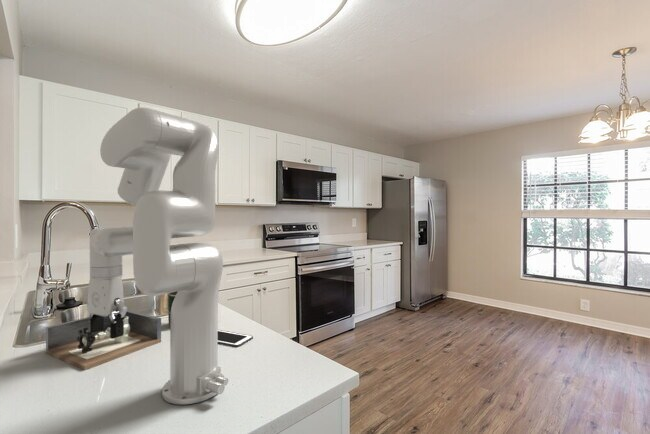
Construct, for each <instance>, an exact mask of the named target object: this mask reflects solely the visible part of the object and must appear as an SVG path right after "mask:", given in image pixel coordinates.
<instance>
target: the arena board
mask: <svg viewBox="0 0 650 434" xmlns="http://www.w3.org/2000/svg"><path fill="white" fill-rule="evenodd" d="M161 342H162V338H161V339H158V340H156V339H153V338H150V337H146V336H143V335H139V334H136V333H133V332H129V333H128V341H126V342H123V343H115V338H113V339H112V338H110V339H108V338H107V337H104V338H103V339H100V340H98V339H95V341H94V343H93V344H92V345H91V347H92V351H89V352H87V353H84V354H83V353H82V348H81V349H78V345H79V341H77V342H74V343H71V344H67V345H64V346H61V347H57V348H54V349H51V350H46V349H45V354H47V355H49V356H52V357H54V358H56V359H58V360H61V361H63V362H66V363H67V364H70V365H71V366H72V365H73V366H74V367H76V368H78V369H81V370H83V371H87V370H90V369H92V368H95V367H97V366H100V365H103V364H105V363H108V362H111V361H113V360H116V359H118V358H121V357H124V356H127V355H130V354H131V353H135V352H137V351H139V350H144V349H145V348H148V347H151V346H153V345H157V344H160V343H161ZM84 345H85V346H86V345H87V343H86V344H84ZM91 347H89V348H91Z"/></svg>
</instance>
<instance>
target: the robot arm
mask: <svg viewBox="0 0 650 434" xmlns="http://www.w3.org/2000/svg"><path fill="white" fill-rule="evenodd" d="M99 150H100V151H99V154H100V157H101V161H102V162H103V163H104V164H105V165H106V166H108V167H112V168H118V169H119V168H120V169H123V172H122V176H121V178H120V180H119V183H118V186H117V195H118V196H119V198H121V200H123V201H125V202H126V203H128V204H130V205H132V206H134V211H133V217H132V226H125V227H124V226H123V227H98V228H97V227H96V228H92V229H91V230H90V231H89V281H88V286H87V287H88V288H87V289H88V290H87V300H86V301H87V303H86V307H87V309H86V310H87V312H88V313H89V317H90V318H91V319H90V329H91V332H92V333H94V332H97V331H101V330H103V329H104V317H106V316H108V315H109V317H110V319H111V322H112V323H111V324H110V338H112V339H113V338H116V337H120V336H123V334H124V320H125V317H126V312H127V310H128V306H127V305H125V298H124V297H125V296H124V295H125V294H124V284H123V278H122V277H123V256H129V255H132V257H133V259H132V262H133V264H132V265H133V268H132V269H133V270H132V271H133V277H134V283H135V285H136V288H137V289H138V290H139V291H140V292H141V294H143V295H145V296H150V297H157V296H162V295H167V294H168V293H172V292H177V291H178V292H177V294H176V296H175V298H174V301H173V304H172V307H171V319H170V326H169V327H170V333H169V334H170V337H169V338H170V340H169V341H170V343H169V345H170V346H169V347H170V351H169V353H170V355H169V358H170V360H169V361H170V365H169V367H170V368H169V369H170V371H169V372H170V373H169V380H168V381H167V382H165V384H164V385H163V386H162V388H161V389H162V390H161V396H162V399H163V400H164V401H165V402H168V403H170V404H174V405H183V406H184V405H191V404H192V405H193V404H197V403H201V402H204V401H208V400H210V399H211V398H213V397H215V396H216V395H222V394H223V393H224V391H225V387H226V386H227V385H228V383H229V378H227V377H225V375H224V374H223V373H222V372H221V371H222V369H221V367H220V366H218V356H219V355H218V348H219V346H218V345H219V344H218V330H219V329H218V322H219V320H218V318H219V293H220V292H219V290H220V286H221V285H220V284H221V279H222V274H223V271H224V269H223V267H224V260H223V255H222V254H221V251H220V250H219V249H218V248H217V247H216V246H215V245H213V244H210V243H208V242H207V243H206V242H187V243H178V244H171V240H172V239H178V238H179V239H180V238H190V237H191V238H192V237H201V236H205V235H208V234H209V233H211V232H212V230H213V229H214V226H215V222H216V168H217V161H218V158H219V157H218V156H219V150H220V149H219V141H218V138H217V135H216V134H215V132H214V131H213V130H212V129H211V128H210V127H209V126H207V125H205V124H204V123H200V122H198V121H195V120H192V119H188V118H186V117H182V116H178V115H173V114H171V113H166V112H163V111H160V110H156V109H153V108H148V107H135V108H134V109H132V110H130V111H128V112H127V113H126V114H125V115H124V116H123V117H122V118H120V119H119V120H118V121H117V122H115V123H114V124H113V125H112V126H111V128H109V129H108V131H106V133H105V134H104V136H103V138H102V140H101V143H100V149H99ZM171 155H172V156H173V155H175V156H180V159H178V161H177V162H176V165H175V166H174V169H173V171H172V190H160V187H161V184H162V181H163V179H164V176H165V174H166V171H167V168H168V166H169V162H170V160H171ZM117 314H118V315H117ZM114 315H117V316H116V318H115V317H114Z"/></svg>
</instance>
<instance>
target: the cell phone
mask: <svg viewBox="0 0 650 434" xmlns="http://www.w3.org/2000/svg"><path fill="white" fill-rule="evenodd" d="M251 339H252V340H253V339H254V336H253V335H250V334H245V333H244V334H243V333H239V332H234V331H233V332H232V331H227V330H222V329H218V345H219V344H220V345H222V344H223V345H224V346H227V347H228V346H229V347H232V348H240V347H242V346H243V345H245V344H246V343H248V341H249V342H250V341H251Z"/></svg>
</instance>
